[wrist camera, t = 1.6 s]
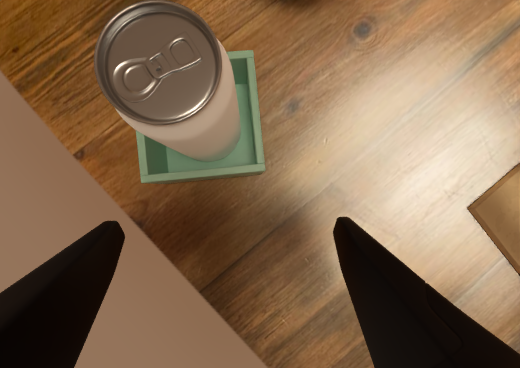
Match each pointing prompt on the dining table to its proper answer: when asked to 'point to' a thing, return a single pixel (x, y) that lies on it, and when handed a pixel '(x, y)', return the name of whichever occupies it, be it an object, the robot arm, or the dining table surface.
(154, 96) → the can
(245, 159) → the tote
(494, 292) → the dining table surface
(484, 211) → the board
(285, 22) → the dining table surface
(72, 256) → the robot arm
